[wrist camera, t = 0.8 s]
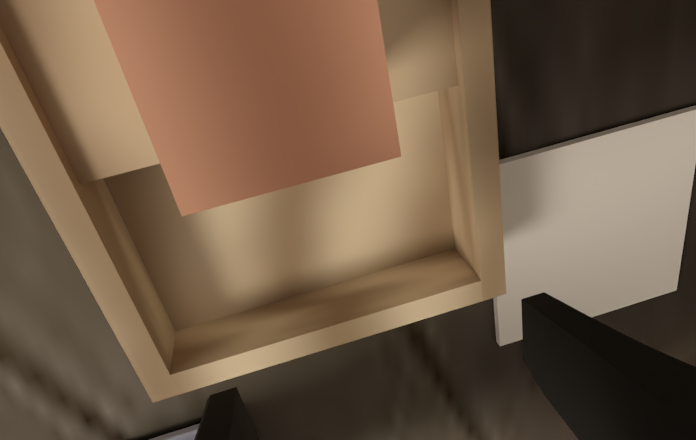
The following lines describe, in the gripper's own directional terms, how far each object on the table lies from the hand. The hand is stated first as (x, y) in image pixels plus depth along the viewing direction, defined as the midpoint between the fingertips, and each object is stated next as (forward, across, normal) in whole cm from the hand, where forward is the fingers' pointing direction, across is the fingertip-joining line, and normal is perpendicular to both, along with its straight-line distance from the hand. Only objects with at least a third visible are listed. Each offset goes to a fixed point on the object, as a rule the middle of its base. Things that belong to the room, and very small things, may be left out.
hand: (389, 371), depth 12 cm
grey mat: (+9, -12, +5) cm, 16 cm away
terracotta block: (+6, +1, -8) cm, 10 cm away
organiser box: (+9, +1, -4) cm, 10 cm away
